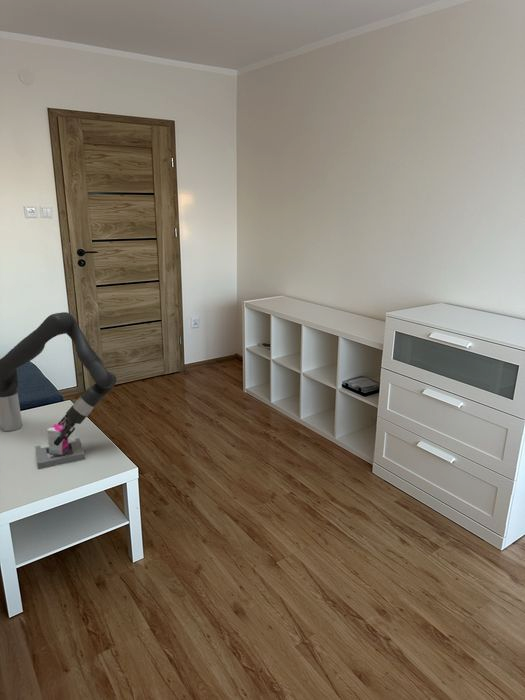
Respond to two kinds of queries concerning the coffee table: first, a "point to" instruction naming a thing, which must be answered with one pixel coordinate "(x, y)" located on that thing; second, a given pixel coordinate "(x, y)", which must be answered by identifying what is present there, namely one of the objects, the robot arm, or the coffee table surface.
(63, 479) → the coffee table surface
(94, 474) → the coffee table surface
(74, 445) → the divided tray
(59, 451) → the supplement box
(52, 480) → the coffee table surface
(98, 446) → the coffee table surface
